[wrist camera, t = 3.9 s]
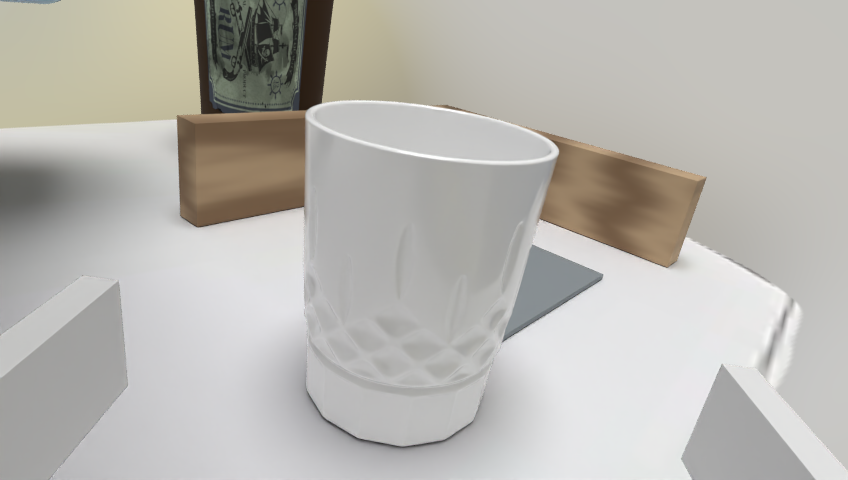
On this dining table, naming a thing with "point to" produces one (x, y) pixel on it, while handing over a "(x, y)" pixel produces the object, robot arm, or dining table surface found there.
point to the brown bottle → (261, 54)
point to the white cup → (413, 260)
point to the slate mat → (547, 287)
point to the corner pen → (576, 164)
